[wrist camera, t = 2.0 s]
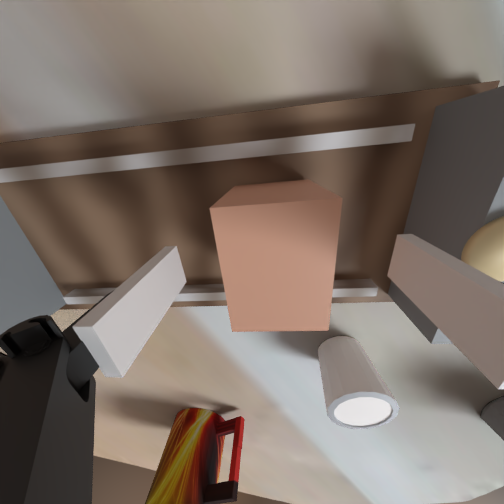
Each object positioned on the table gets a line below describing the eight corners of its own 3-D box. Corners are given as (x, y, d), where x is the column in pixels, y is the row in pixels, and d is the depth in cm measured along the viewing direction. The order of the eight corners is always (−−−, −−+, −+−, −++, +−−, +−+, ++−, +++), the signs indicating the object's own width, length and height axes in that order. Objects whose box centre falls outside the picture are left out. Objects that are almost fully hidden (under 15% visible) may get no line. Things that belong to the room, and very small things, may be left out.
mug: (246, 409, 34) (236, 528, 23) (214, 439, 39) (194, 546, 29) (194, 389, 32) (158, 506, 21) (169, 424, 38) (130, 530, 27)
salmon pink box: (244, 268, 20) (232, 331, 13) (234, 185, 16) (209, 208, 9) (305, 265, 19) (328, 330, 12) (308, 179, 16) (342, 197, 9)
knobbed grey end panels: (42, 303, 24) (-30, 350, 19) (-56, 163, 18) (-220, 166, 12) (424, 293, 20) (490, 350, 14) (493, 99, 13) (680, 51, 7)
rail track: (54, 304, 26) (34, 318, 24) (-48, 151, 18) (-93, 150, 16) (414, 294, 21) (432, 311, 19) (484, 85, 14) (527, 71, 11)
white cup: (308, 337, 25) (321, 397, 19) (364, 327, 24) (399, 389, 18) (318, 370, 28) (332, 432, 22) (369, 363, 27) (400, 428, 20)
